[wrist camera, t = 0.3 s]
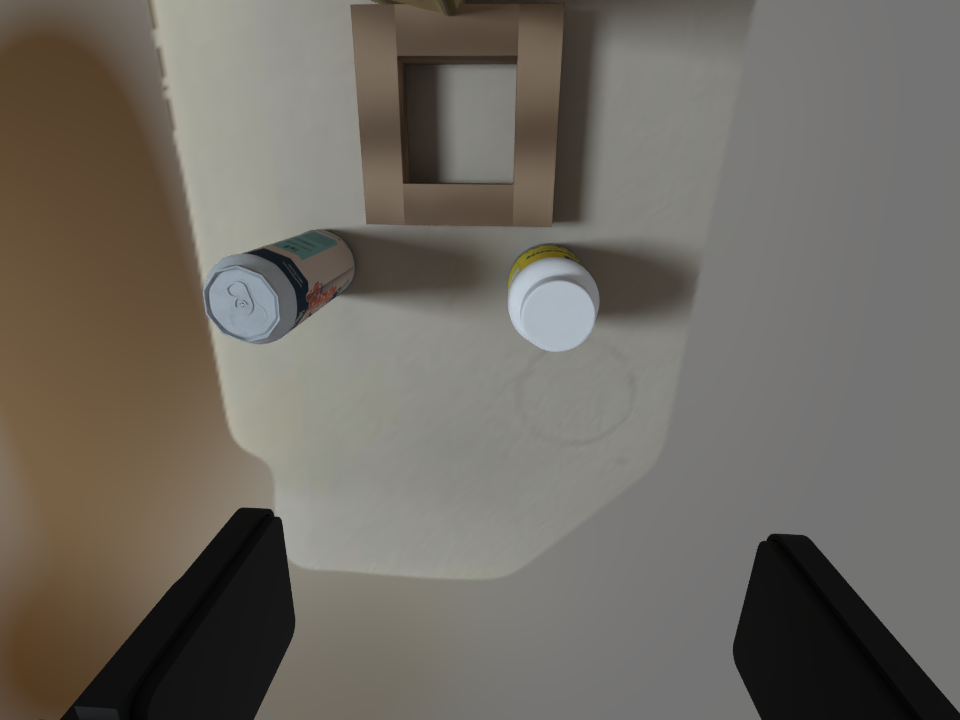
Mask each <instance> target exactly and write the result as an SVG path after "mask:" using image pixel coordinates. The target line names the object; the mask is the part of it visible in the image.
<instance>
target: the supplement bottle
mask: <svg viewBox="0 0 960 720" xmlns="http://www.w3.org/2000/svg"><path fill="white" fill-rule="evenodd" d="M599 302H600V300H599V292H598V288H597V285H596V283H595V281H594V279H593V277H592V276H591V274H590V273H589V272H588V270H587V269H586V268H585V267H584V266H583V264H582V263H581V262H580V261H579V259H578V258H577V257H576V256H575V255H574V254H573V253H572V252H570V251H569V250H567V249H566V248H564V247H562V246H559V245H555V244H540V245H536V246H533V247H531V248H529V249H527V250H526V251H524V252H523V253H522V254H521V255H520V256H519V257H518V258H517V259H516V261H515V262H514V264H513V266H512V268H511V270H510V274H509V279H508V310H509V314H510V318H511V321H512V323H513V325H514V327H515V328H516V330H517V331H518V332H519V333H520V334H521V335H522V336H523V337H524V338H525V339H527V340H528V341H530V342H532V343H534V344H535V345H536V346H538V347H540V348H542V349H544V350H547V351H553V352H561V351H567V350H570V349H573V348H575V347H577V346H578V345H580V344H581V343H582V342H584V341H585V340H586V338H587V337H588V336H589V335H590V333H591V331H592V329H593V327H594V323H595V320H596V317H597V314H598V310H599Z"/></svg>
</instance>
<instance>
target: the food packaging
mask: <svg viewBox="0 0 960 720" xmlns="http://www.w3.org/2000/svg"><path fill="white" fill-rule="evenodd" d="M371 1H374V2H376V3H379V4H408V5H411V6H414V7H417V8H421V9H425V10H429V11H434V12H438V13H441V14H443V15H445V16H452V15H454V14H456V11H457V9H458V7H459V4H466V2H467V0H371Z"/></svg>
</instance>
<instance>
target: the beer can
mask: <svg viewBox="0 0 960 720" xmlns="http://www.w3.org/2000/svg"><path fill="white" fill-rule="evenodd" d="M354 271H355V263H354V258H353V255H352V253H351V250H350V249H349V247H348V246H347V244H346V243H345V242H344V241H343V240H342V239H341V238H340V237H338V236H337V235H335V234H333V233H331V232H329V231H325V230H311V231H308V232H305V233H303V234H301V235H298V236H295V237H291V238H288V239H285V240H282V241H279V242H276V243H273V244H270V245H267V246H264V247H260V248H257V249H254V250H251V251H248V252H245V253H242V254H236V255H231V256H228V257H226V258H223V259H222V260H220V261H219V262H218V263H217V264H216V265H214V267H213V268H212V270H211V271H210V273H209V275H208V276H207V280H206V283H205V287H204V289H203V296H204V303H205V310H206V315H207V316H208V317H209V318H210V319H211V321H212V322H213V323H214V324H215V326H216V327H217V328H218V329H219V330H220V332H221V333H222V334H224V335H227V336H229V337H232V338H234V339H237V340H240V341H242V342H245V343H252V344H265V343H270V342H273V341H276V340H278V339H280V338H282V337H283V336H284V335H286V334H287V333H288V332H290V331H291V330H292V329H294V328H295V327H296V326H298V325H299V324H300V323H302V322H303V321H304V320H306V319H307V318H308V317H310V316H311V315H312V314H314V313H315V312H316V311H318V310H319V309H320V308H322V307H323V306H324V305H326V304H327V303H328V302H330V301H331V300H332V299H334V298H335V297H336V296H338V295H339V294H340V293H342V292H343V291H344V290H345V289H346V288H347V287H348V286H349V284H350V283H351V281H352V279H353V276H354Z"/></svg>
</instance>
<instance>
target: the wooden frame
mask: <svg viewBox="0 0 960 720" xmlns="http://www.w3.org/2000/svg"><path fill="white" fill-rule="evenodd" d="M564 7H565V3H515V4H459V7H458V9H457V11H456V14H454V15H452V16H445V15H443V14H441V13H438V12H434V11H429V10H425V9H421V8H417V7H414V6H411V5H408V4H367V5H351V18H352V32H353V46H354V59H355V73H356V87H357V100H358V114H359V128H360V141H361V155H362V169H363V182H364V196H365V210H366V223H367V224H387V225H463V226H539V227H552V213H553V196H554V179H555V162H556V145H557V128H558V110H559V93H560V76H561V59H562V42H563V24H564ZM405 64H517V81H516V114H515V147H514V180H513V184H487V183H410V172H409V147H408V123H407V99H406V74H405Z"/></svg>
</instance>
